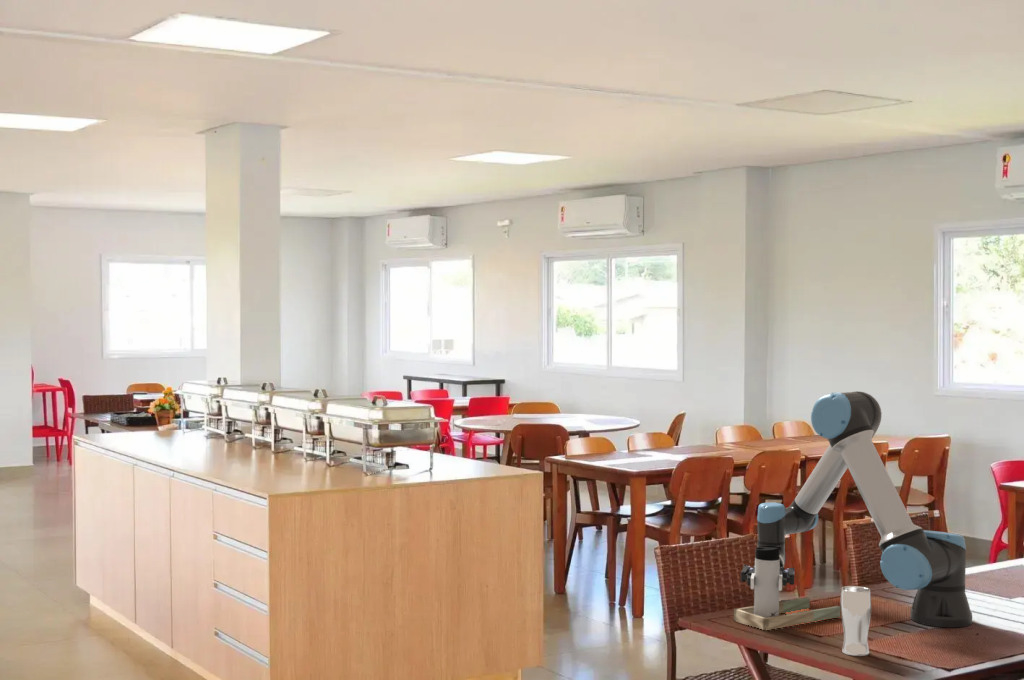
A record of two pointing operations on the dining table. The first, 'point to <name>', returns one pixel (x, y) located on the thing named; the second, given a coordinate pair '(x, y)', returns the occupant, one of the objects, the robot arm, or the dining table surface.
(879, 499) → the robot arm
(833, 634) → the dining table surface
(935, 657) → the dining table surface
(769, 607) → the travel mug
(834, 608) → the bay
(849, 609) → the beer glass
